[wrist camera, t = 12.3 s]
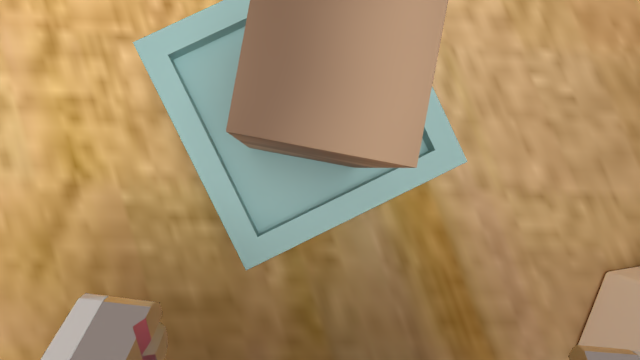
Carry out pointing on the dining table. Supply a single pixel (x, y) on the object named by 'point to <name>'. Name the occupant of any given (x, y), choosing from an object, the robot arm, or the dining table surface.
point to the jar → (615, 312)
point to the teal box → (262, 166)
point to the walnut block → (337, 79)
